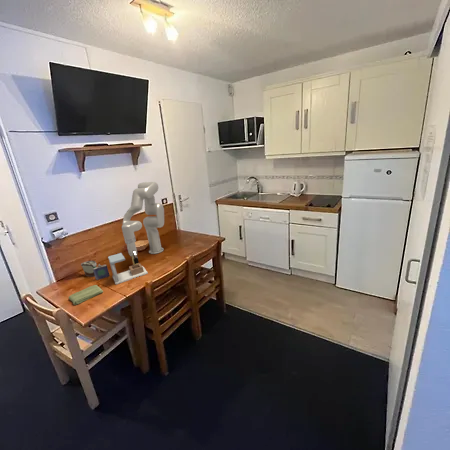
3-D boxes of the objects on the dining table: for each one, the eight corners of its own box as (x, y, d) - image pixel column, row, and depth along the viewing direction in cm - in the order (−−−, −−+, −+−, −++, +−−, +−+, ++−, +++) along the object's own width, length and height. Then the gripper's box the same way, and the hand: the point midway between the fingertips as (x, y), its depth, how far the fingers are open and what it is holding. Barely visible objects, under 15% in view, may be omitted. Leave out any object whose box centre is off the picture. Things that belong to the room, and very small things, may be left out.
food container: (103, 272, 189) (99, 260, 186) (96, 276, 184) (93, 264, 181) (90, 271, 193) (87, 259, 190) (84, 275, 188) (80, 263, 185)
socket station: (112, 276, 181) (107, 256, 176) (142, 266, 191) (138, 247, 186) (115, 284, 169) (110, 263, 164) (147, 273, 180) (143, 253, 175)
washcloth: (104, 292, 161) (103, 288, 160) (75, 306, 149) (73, 302, 148) (96, 286, 170) (95, 282, 169) (68, 299, 158) (66, 295, 157)
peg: (133, 267, 192) (130, 253, 189) (138, 265, 194) (135, 251, 191) (134, 268, 189) (131, 254, 186) (139, 267, 191) (136, 253, 188)
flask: (96, 280, 178) (92, 267, 175) (95, 279, 180) (91, 265, 177) (109, 276, 182) (106, 263, 179) (109, 274, 184) (105, 261, 181)
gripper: (122, 238, 190) (127, 259, 196) (127, 244, 176) (132, 266, 181) (132, 236, 194) (137, 256, 199) (138, 241, 180) (143, 263, 185)
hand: (135, 261), depth 190 cm, fingers open, 8 cm apart
